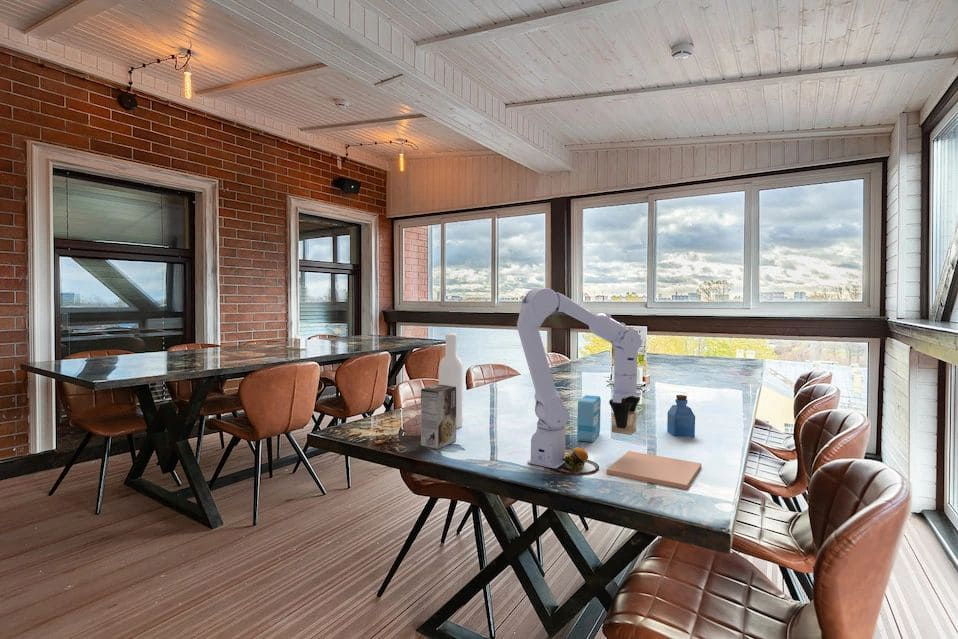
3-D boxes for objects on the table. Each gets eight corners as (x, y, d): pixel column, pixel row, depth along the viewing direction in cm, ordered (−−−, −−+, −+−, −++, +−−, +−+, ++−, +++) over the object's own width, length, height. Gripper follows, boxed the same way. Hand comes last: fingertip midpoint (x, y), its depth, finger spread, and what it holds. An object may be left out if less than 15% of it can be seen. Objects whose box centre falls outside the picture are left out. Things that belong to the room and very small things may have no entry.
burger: (562, 461, 133) (562, 433, 133) (605, 469, 126) (606, 439, 126) (542, 473, 123) (542, 443, 123) (588, 483, 116) (589, 451, 116)
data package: (592, 443, 145) (593, 402, 145) (576, 441, 147) (577, 401, 147) (600, 434, 156) (600, 395, 156) (585, 432, 158) (586, 394, 158)
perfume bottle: (694, 436, 154) (695, 397, 154) (674, 436, 154) (675, 397, 154) (686, 431, 160) (687, 394, 160) (667, 431, 160) (668, 393, 160)
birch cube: (630, 435, 129) (631, 415, 129) (611, 432, 132) (612, 413, 131) (636, 431, 133) (636, 412, 133) (617, 428, 136) (617, 409, 136)
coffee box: (438, 438, 149) (439, 383, 149) (456, 441, 146) (457, 386, 145) (419, 445, 141) (420, 388, 141) (438, 449, 138) (439, 390, 137)
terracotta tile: (686, 489, 110) (687, 485, 110) (606, 473, 120) (606, 469, 120) (701, 467, 125) (701, 463, 125) (628, 454, 135) (628, 450, 135)
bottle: (434, 428, 161) (435, 334, 160) (443, 422, 168) (444, 332, 167) (458, 430, 159) (458, 335, 158) (465, 424, 166) (466, 333, 165)
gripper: (633, 378, 123) (632, 433, 124) (648, 372, 136) (646, 422, 136) (605, 376, 127) (604, 429, 128) (621, 370, 139) (620, 418, 140)
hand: (624, 425), depth 132 cm, fingers closed on birch cube, 5 cm apart
